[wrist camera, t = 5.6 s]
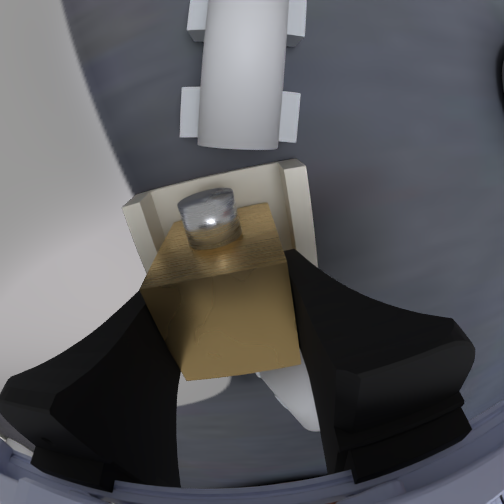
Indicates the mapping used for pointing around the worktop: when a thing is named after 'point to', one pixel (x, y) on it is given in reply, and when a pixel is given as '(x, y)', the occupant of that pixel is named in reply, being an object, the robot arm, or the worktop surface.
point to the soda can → (503, 75)
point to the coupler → (223, 290)
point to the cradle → (246, 194)
